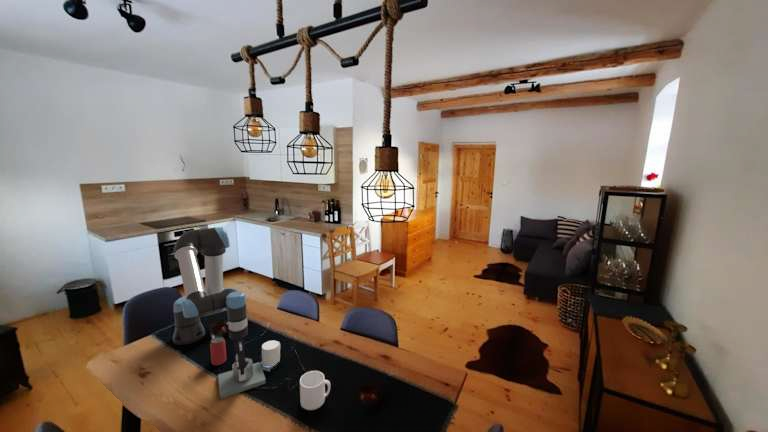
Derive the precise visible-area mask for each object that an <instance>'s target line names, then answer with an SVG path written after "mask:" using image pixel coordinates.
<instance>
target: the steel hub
mask: <svg viewBox="0 0 768 432" xmlns="http://www.w3.org/2000/svg"><path fill="white" fill-rule="evenodd" d="M237 363H238V360H237V361H236V360H235V361H234V362H233V363H232V365H231V367H232V370H233V380H234V381H235V382H240V383H241V382H244V381H247V380H249V379H250V378H251V377H252V376H253V364H254V363H253V359H252V358H249V357H245V365H246V368H245V369H246V379H245V380H242V381H239V371H238V369H237V368H238V367H237Z"/></svg>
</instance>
